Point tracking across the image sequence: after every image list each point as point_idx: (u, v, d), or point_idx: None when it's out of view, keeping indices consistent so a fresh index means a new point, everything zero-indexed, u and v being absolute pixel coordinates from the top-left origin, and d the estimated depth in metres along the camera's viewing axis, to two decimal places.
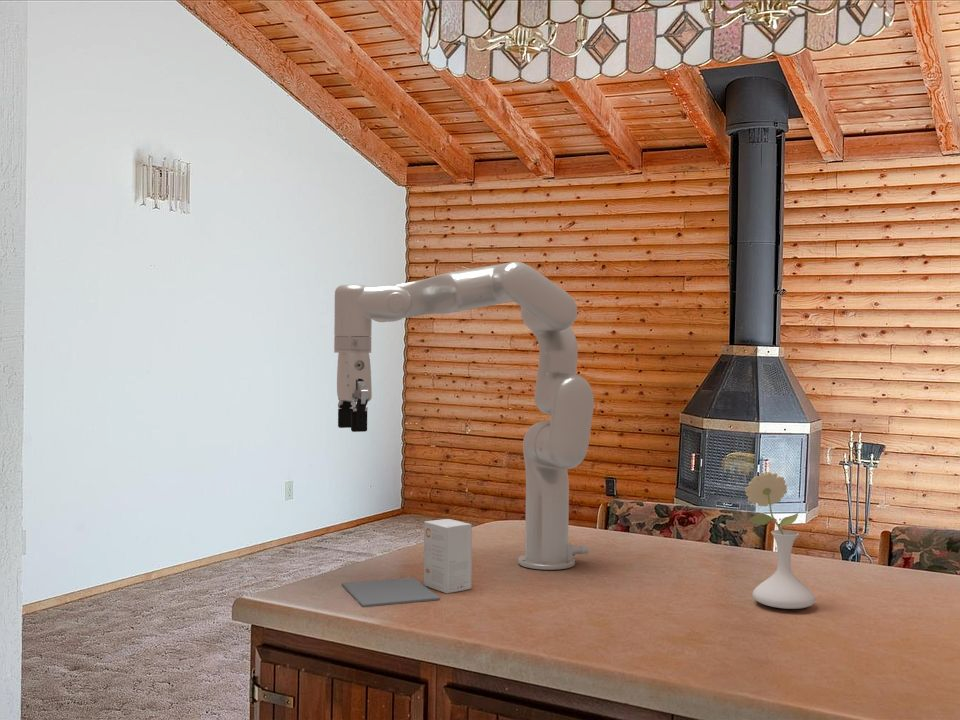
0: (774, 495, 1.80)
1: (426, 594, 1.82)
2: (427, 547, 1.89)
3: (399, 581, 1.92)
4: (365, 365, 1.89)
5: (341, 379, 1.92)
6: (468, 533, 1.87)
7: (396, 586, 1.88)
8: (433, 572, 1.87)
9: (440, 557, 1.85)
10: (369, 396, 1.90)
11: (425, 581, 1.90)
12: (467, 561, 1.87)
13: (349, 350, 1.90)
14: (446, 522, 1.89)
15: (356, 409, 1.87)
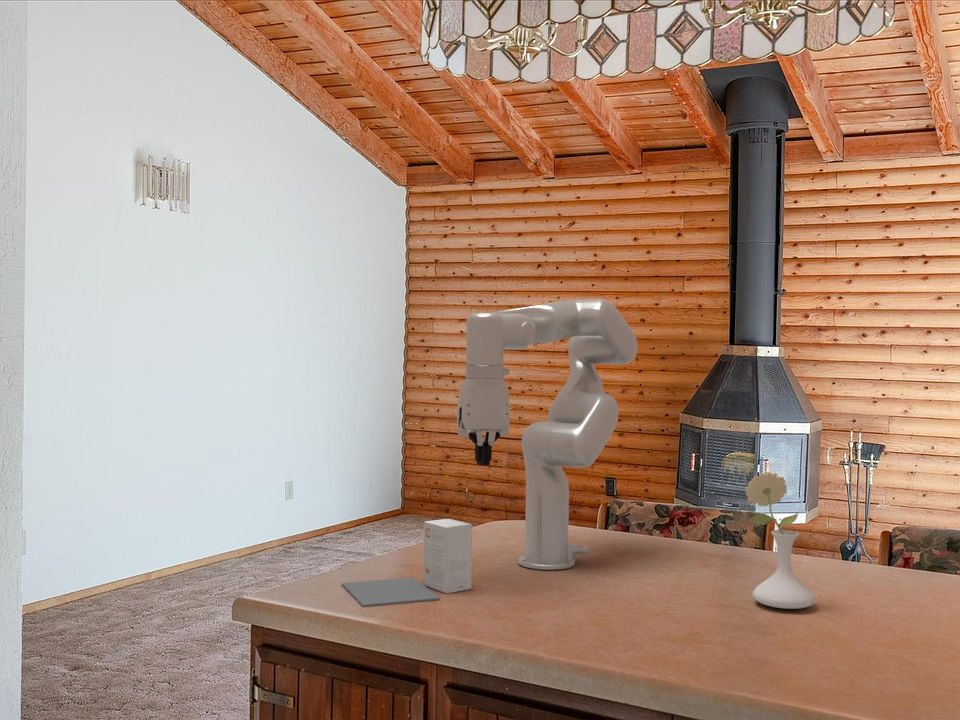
0: (774, 495, 1.80)
1: (426, 594, 1.82)
2: (427, 547, 1.89)
3: (399, 581, 1.92)
4: None
5: (490, 408, 1.89)
6: (468, 533, 1.87)
7: (396, 586, 1.88)
8: (433, 572, 1.87)
9: (440, 557, 1.85)
10: None
11: (425, 581, 1.90)
12: (467, 561, 1.87)
13: (502, 379, 1.91)
14: (446, 522, 1.89)
15: None
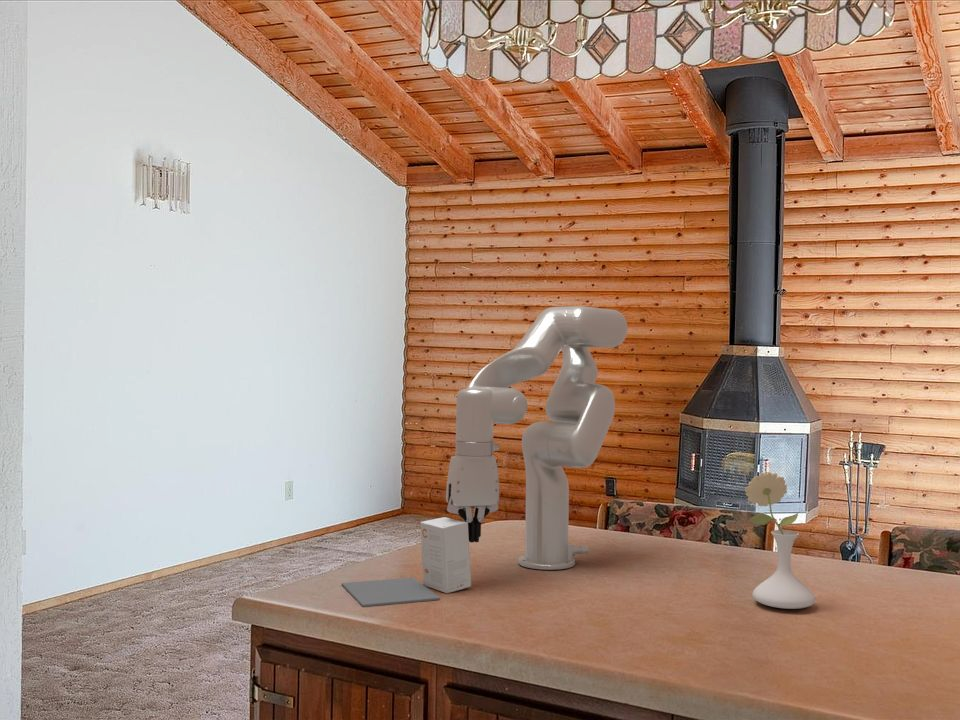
0: (774, 495, 1.80)
1: (426, 594, 1.82)
2: (424, 547, 1.89)
3: (399, 581, 1.92)
4: None
5: (479, 485, 1.88)
6: (465, 532, 1.87)
7: (396, 586, 1.88)
8: (432, 572, 1.87)
9: (438, 558, 1.85)
10: None
11: (425, 581, 1.89)
12: (466, 560, 1.87)
13: (492, 455, 1.90)
14: (442, 522, 1.88)
15: None
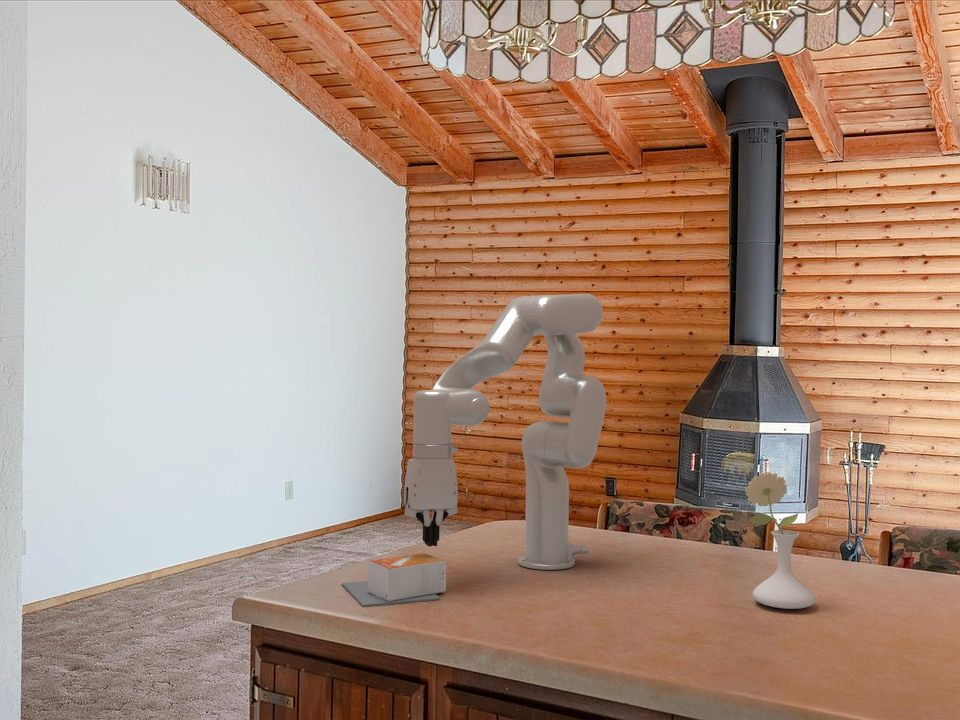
0: (774, 495, 1.80)
1: None
2: None
3: None
4: None
5: (437, 488, 1.85)
6: (397, 572, 1.77)
7: None
8: None
9: None
10: None
11: None
12: (422, 569, 1.80)
13: (450, 457, 1.87)
14: (377, 582, 1.79)
15: None
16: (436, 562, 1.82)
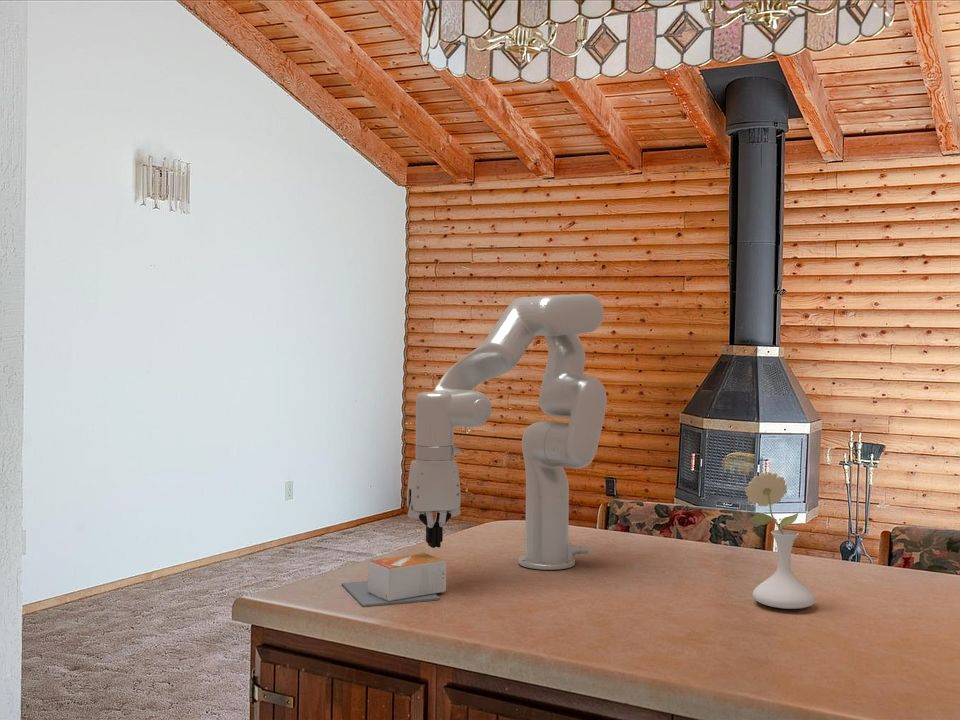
0: (774, 495, 1.80)
1: None
2: None
3: None
4: None
5: (440, 490, 1.86)
6: (397, 572, 1.77)
7: None
8: None
9: None
10: None
11: None
12: (422, 569, 1.80)
13: None
14: (377, 582, 1.79)
15: None
16: (436, 562, 1.82)
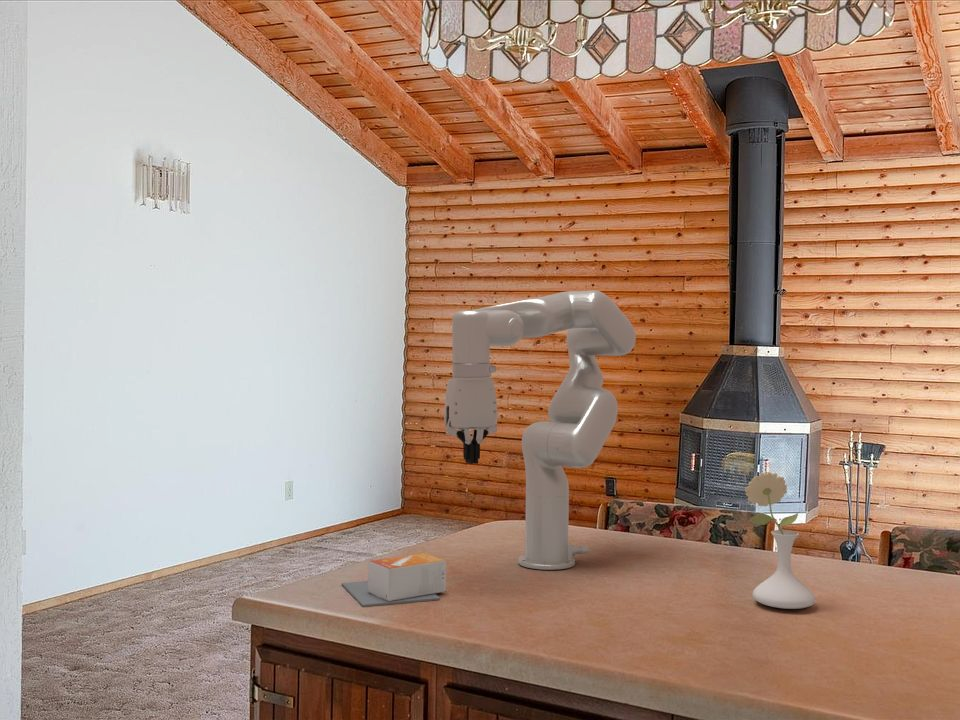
0: (774, 495, 1.80)
1: None
2: None
3: None
4: None
5: (477, 407, 1.88)
6: (397, 572, 1.77)
7: None
8: None
9: None
10: None
11: None
12: (422, 569, 1.80)
13: (489, 376, 1.90)
14: (377, 582, 1.79)
15: (481, 440, 1.90)
16: (436, 562, 1.82)
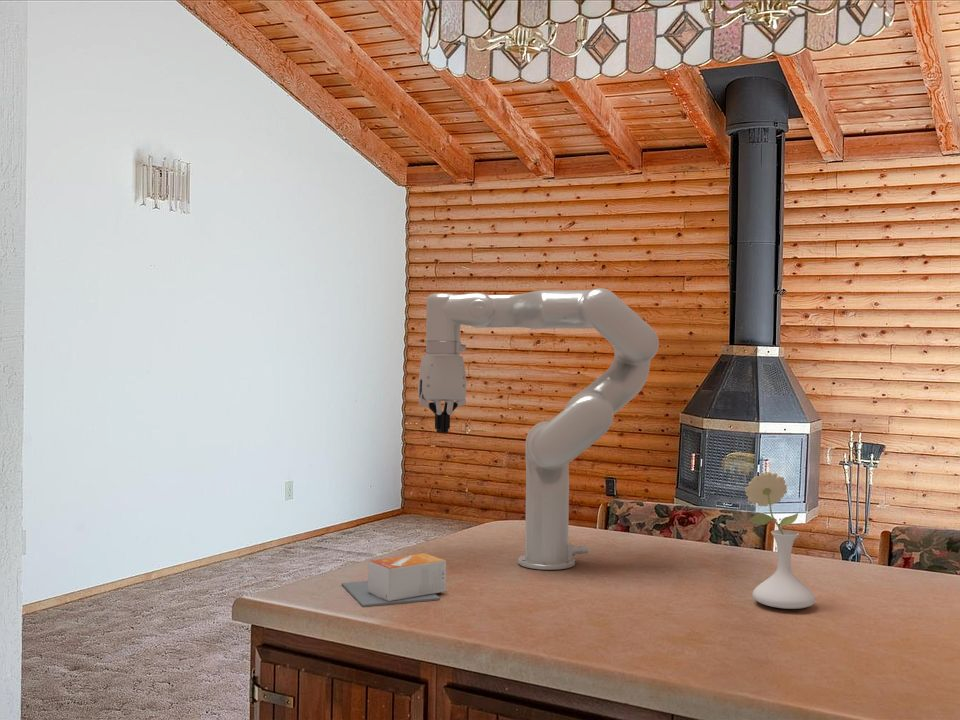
0: (774, 495, 1.80)
1: None
2: None
3: None
4: None
5: (448, 381, 2.07)
6: (397, 572, 1.77)
7: None
8: None
9: None
10: None
11: None
12: (422, 569, 1.80)
13: (459, 354, 2.09)
14: (377, 582, 1.79)
15: (451, 412, 2.09)
16: (436, 562, 1.82)
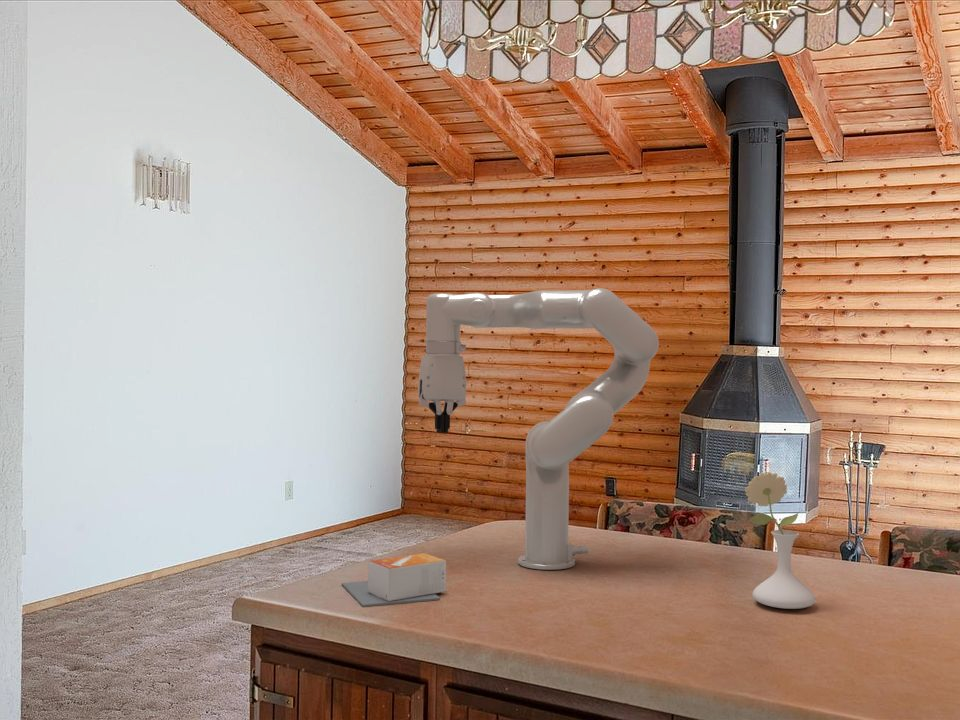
0: (774, 495, 1.80)
1: None
2: None
3: None
4: None
5: (448, 381, 2.07)
6: (397, 572, 1.77)
7: None
8: None
9: None
10: None
11: None
12: (422, 569, 1.80)
13: (459, 354, 2.09)
14: (377, 582, 1.79)
15: (451, 412, 2.09)
16: (436, 562, 1.82)
